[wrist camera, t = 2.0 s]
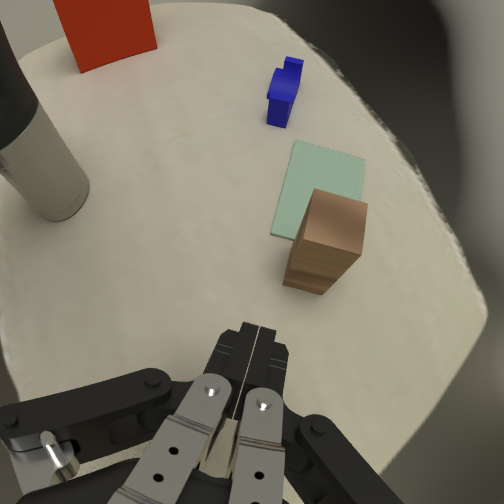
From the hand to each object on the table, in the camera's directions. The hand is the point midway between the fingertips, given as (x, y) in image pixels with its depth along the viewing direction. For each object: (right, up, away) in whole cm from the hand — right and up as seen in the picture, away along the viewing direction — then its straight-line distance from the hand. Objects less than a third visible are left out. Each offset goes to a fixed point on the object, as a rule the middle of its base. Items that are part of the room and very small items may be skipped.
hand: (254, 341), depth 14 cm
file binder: (-29, +48, +42) cm, 70 cm away
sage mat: (+10, +12, +30) cm, 33 cm away
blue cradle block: (+5, +29, +36) cm, 47 cm away
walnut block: (+7, +2, +26) cm, 27 cm away
